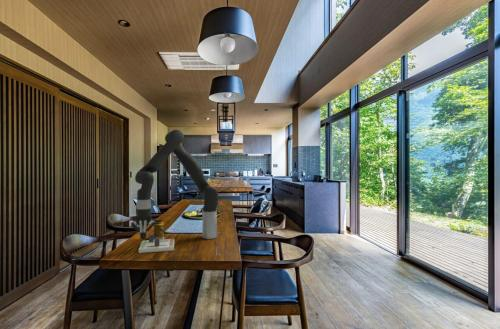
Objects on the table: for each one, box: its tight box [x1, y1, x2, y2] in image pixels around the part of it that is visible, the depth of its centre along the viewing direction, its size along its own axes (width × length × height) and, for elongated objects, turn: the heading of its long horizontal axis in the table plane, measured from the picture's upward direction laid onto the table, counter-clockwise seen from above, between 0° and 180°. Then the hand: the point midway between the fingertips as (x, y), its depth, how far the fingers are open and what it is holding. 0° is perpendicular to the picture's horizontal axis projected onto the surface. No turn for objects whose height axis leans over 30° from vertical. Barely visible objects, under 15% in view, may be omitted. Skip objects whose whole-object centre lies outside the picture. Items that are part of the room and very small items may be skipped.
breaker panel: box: [138, 238, 175, 254], centre depth 148 cm, size 18×16×2 cm
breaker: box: [148, 233, 154, 242], centre depth 152 cm, size 2×2×4 cm
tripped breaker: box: [155, 238, 161, 246], centre depth 144 cm, size 2×2×4 cm
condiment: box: [153, 218, 166, 240], centre depth 167 cm, size 7×8×12 cm
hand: (143, 238), depth 143 cm, fingers closed
